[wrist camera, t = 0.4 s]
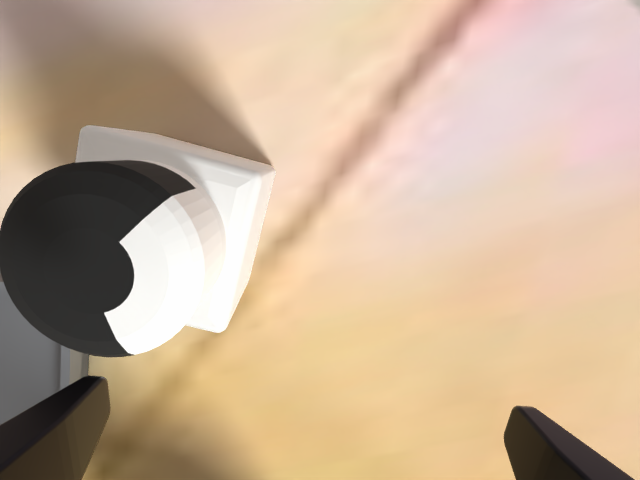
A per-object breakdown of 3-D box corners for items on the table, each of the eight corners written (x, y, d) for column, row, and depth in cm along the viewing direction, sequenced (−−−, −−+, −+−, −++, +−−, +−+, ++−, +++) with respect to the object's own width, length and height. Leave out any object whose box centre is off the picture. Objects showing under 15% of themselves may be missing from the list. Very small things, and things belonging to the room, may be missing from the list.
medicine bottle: (128, 253, 23) (-54, 355, 12) (151, 131, 22) (-32, 106, 10) (248, 283, 24) (190, 409, 12) (277, 166, 22) (243, 181, 11)
